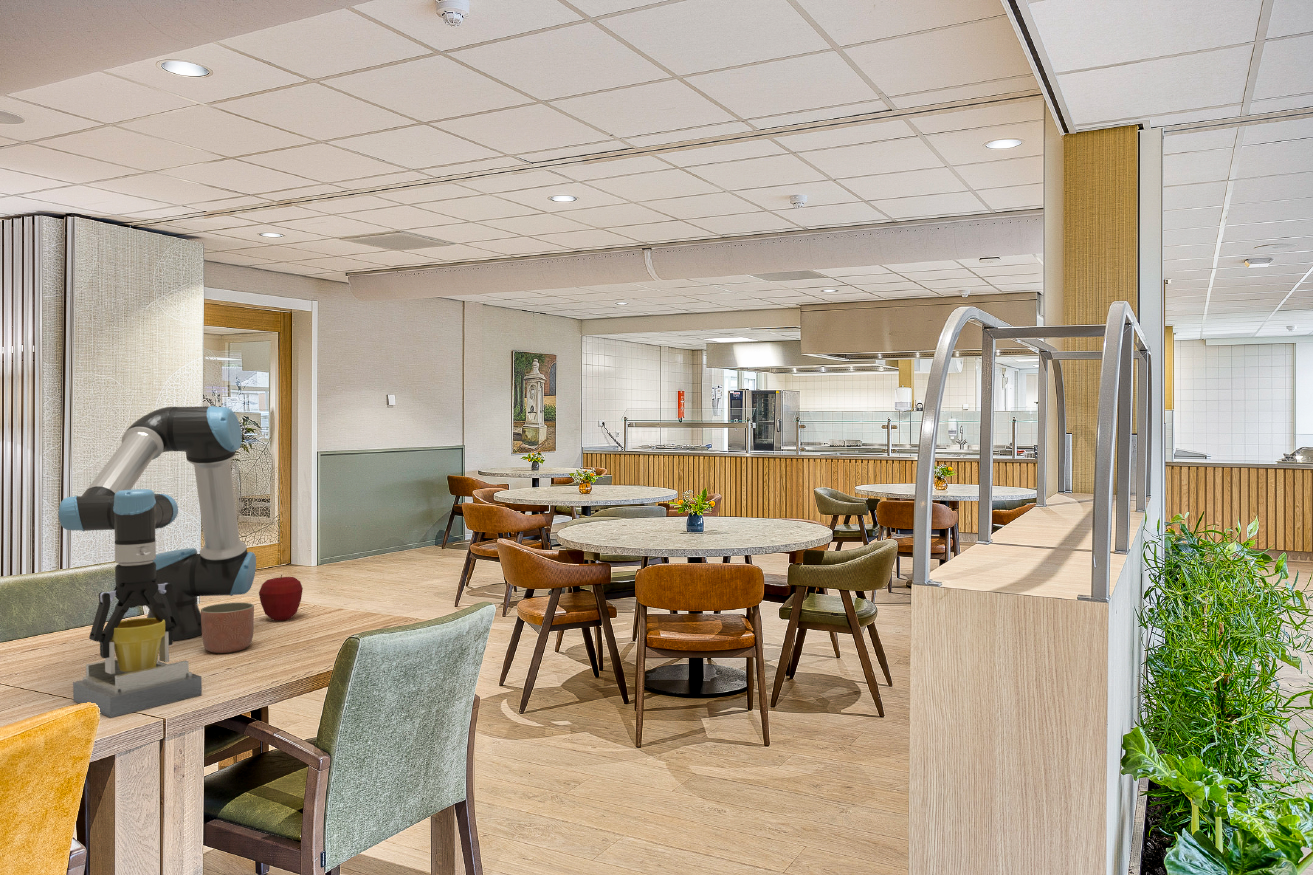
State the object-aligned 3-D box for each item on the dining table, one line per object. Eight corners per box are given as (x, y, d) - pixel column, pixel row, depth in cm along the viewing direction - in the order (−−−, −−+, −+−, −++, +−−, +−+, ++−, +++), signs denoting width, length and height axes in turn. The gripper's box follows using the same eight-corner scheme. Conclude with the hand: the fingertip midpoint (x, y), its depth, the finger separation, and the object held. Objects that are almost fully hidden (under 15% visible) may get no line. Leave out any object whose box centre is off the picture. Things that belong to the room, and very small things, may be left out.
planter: (265, 646, 233) (264, 604, 233) (224, 657, 222) (223, 614, 221) (231, 641, 238) (231, 600, 238) (190, 652, 227) (189, 609, 227)
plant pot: (124, 662, 195) (124, 617, 194) (174, 660, 195) (173, 616, 195) (99, 675, 184) (98, 628, 184) (151, 674, 185) (151, 627, 185)
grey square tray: (70, 699, 189) (70, 664, 189) (159, 679, 203) (159, 646, 203) (110, 717, 177) (109, 680, 177) (201, 694, 192) (201, 660, 192)
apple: (294, 613, 272) (294, 569, 272) (309, 619, 264) (308, 574, 264) (253, 619, 264) (252, 574, 264) (267, 625, 256) (266, 579, 255)
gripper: (83, 571, 178) (85, 682, 179) (198, 557, 196) (200, 657, 197) (68, 568, 182) (70, 676, 183) (182, 554, 201) (183, 652, 201)
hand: (137, 666), depth 190 cm, fingers closed on plant pot, 10 cm apart
